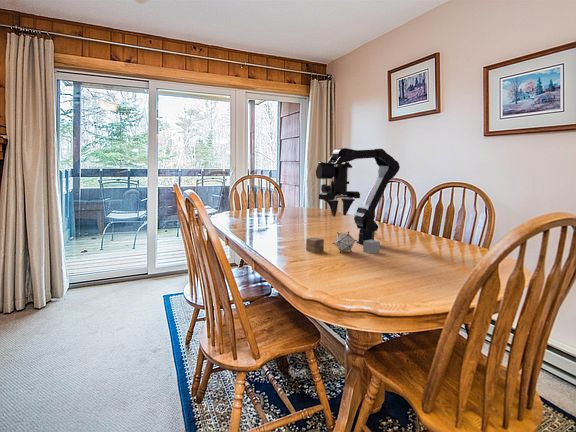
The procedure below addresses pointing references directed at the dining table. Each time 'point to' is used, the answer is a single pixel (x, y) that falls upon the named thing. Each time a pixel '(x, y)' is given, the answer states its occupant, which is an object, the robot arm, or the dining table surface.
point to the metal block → (314, 244)
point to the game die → (344, 242)
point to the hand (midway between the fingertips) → (339, 215)
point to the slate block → (371, 246)
